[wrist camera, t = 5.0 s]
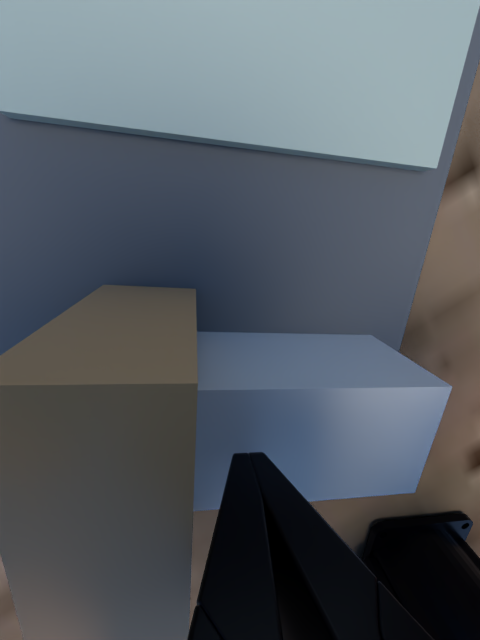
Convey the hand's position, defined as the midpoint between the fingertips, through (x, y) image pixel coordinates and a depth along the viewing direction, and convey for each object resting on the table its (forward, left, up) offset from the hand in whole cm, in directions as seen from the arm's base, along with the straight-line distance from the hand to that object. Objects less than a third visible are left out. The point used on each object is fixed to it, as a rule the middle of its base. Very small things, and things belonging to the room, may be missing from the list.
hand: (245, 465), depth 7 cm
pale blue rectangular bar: (0, 0, -4) cm, 5 cm away
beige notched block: (+3, 0, -5) cm, 6 cm away
